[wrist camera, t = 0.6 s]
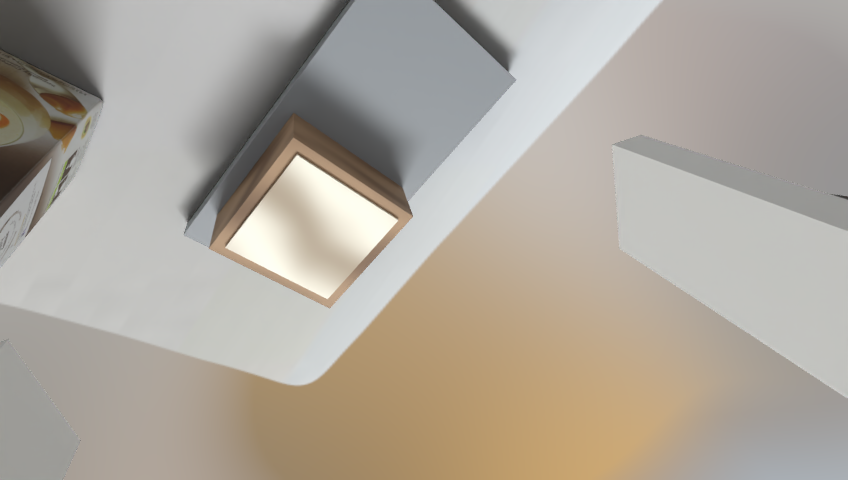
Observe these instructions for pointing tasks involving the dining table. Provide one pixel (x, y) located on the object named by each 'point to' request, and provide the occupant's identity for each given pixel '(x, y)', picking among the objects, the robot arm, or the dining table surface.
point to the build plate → (379, 96)
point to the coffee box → (37, 144)
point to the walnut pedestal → (310, 214)
